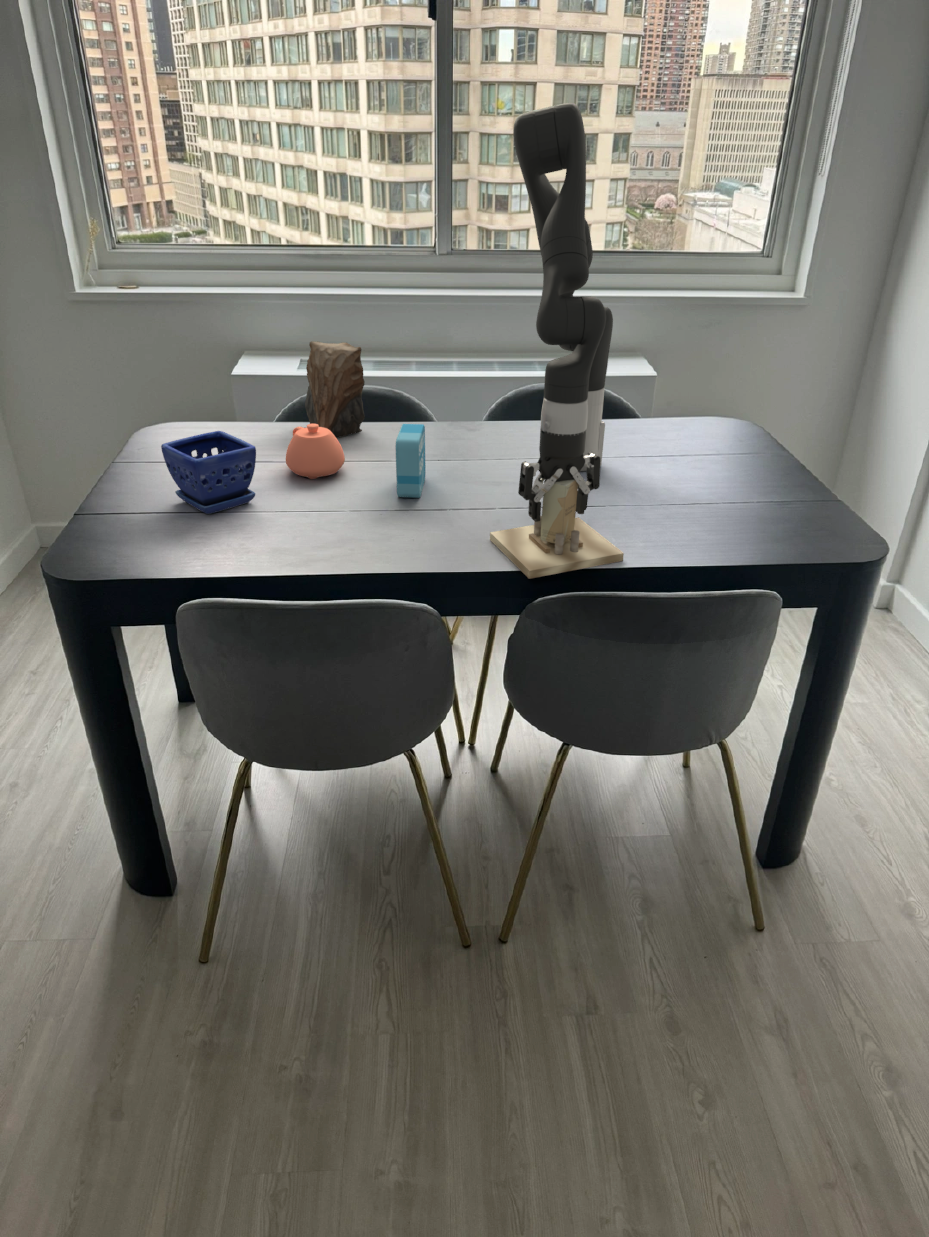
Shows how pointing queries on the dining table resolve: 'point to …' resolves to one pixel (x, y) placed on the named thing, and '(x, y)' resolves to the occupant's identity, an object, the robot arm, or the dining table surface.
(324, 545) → the dining table surface
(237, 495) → the flower pot
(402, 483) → the data package
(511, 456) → the dining table surface
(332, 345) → the owl
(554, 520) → the box
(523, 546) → the tray
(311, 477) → the sugar bowl
